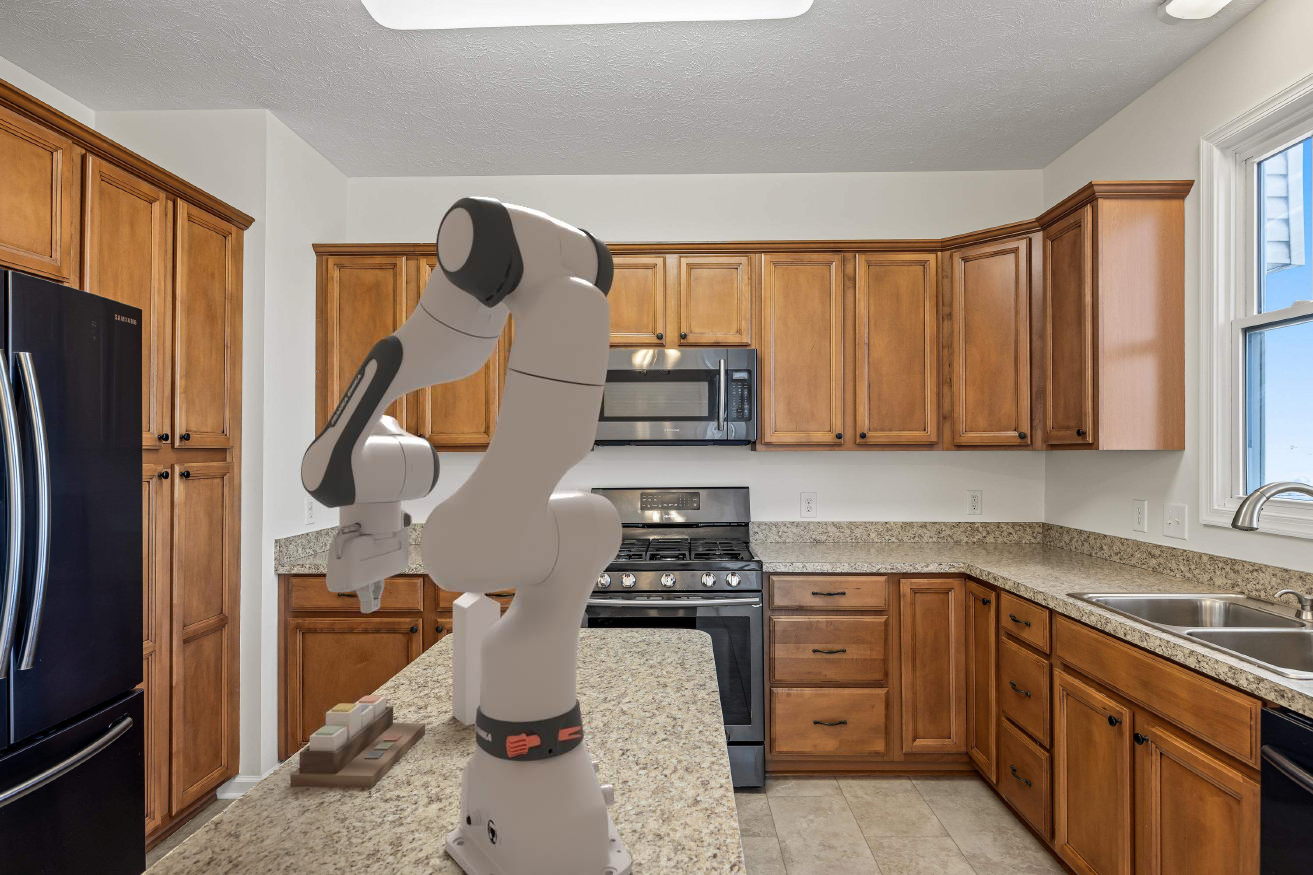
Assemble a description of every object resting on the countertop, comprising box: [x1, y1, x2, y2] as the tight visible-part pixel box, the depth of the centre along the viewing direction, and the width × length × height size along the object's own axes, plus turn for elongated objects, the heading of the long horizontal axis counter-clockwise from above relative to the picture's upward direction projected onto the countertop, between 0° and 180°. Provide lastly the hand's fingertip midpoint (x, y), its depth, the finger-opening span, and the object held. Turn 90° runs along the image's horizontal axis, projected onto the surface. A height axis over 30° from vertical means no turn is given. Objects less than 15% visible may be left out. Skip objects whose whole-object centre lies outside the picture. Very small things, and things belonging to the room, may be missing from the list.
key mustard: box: [325, 702, 361, 741], centre depth 98 cm, size 3×3×4 cm
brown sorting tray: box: [289, 705, 426, 789], centre depth 100 cm, size 18×11×4 cm, turn 177°
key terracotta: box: [354, 695, 387, 719], centre depth 106 cm, size 3×3×4 cm
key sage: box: [308, 725, 347, 751], centre depth 94 cm, size 3×3×4 cm
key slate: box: [361, 705, 374, 730], centre depth 102 cm, size 3×3×4 cm
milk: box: [451, 592, 501, 727], centre depth 116 cm, size 6×6×22 cm
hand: (370, 611), depth 107 cm, fingers closed
